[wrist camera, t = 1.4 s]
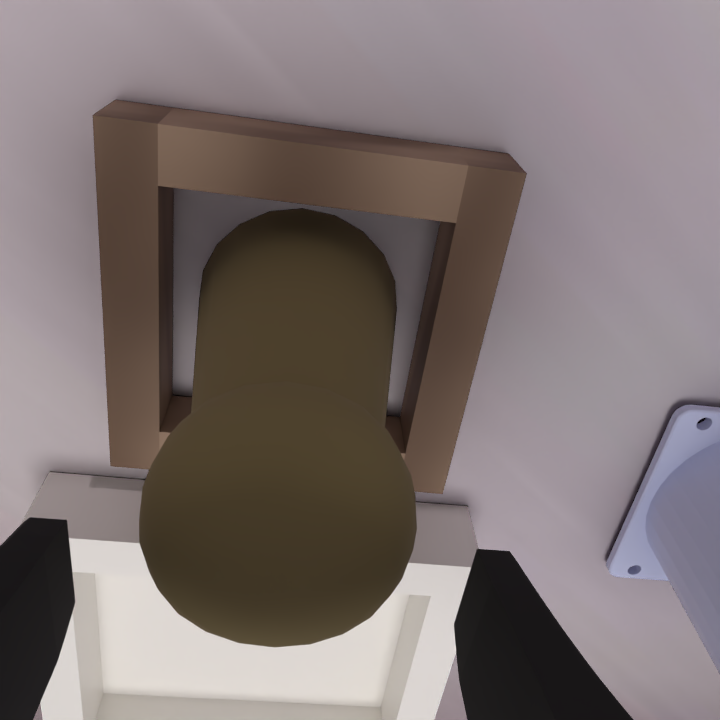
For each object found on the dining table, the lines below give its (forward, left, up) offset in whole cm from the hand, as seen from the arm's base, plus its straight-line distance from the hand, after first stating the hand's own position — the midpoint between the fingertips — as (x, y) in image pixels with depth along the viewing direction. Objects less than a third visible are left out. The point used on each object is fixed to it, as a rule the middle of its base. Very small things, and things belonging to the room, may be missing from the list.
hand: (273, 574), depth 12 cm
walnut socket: (0, 0, -10) cm, 10 cm away
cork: (0, 0, -11) cm, 11 cm away
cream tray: (0, +14, -10) cm, 17 cm away
